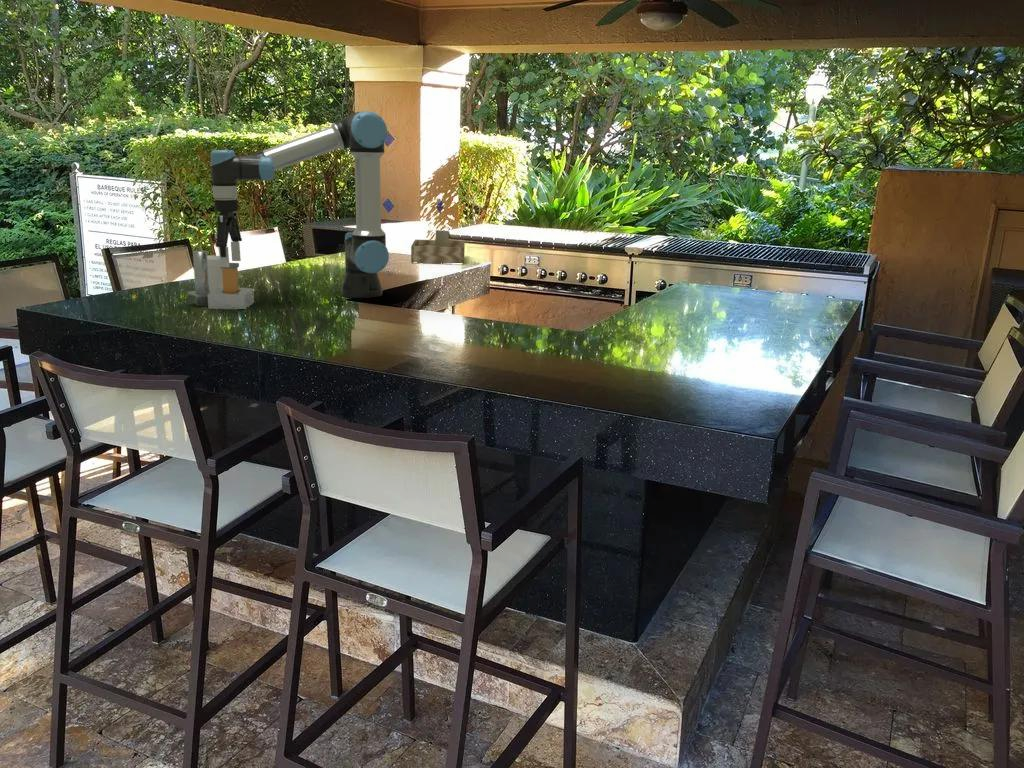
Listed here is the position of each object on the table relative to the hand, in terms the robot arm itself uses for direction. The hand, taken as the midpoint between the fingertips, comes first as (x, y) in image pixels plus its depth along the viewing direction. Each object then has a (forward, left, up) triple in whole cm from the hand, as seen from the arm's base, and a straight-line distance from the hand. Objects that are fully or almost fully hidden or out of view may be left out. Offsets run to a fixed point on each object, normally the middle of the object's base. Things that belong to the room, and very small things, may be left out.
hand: (230, 264), depth 285 cm
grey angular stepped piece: (+5, -6, -14) cm, 16 cm away
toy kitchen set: (-67, -127, -15) cm, 144 cm away
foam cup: (+12, -22, -14) cm, 29 cm away
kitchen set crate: (-64, -126, -14) cm, 142 cm away
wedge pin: (0, 0, -14) cm, 14 cm away
